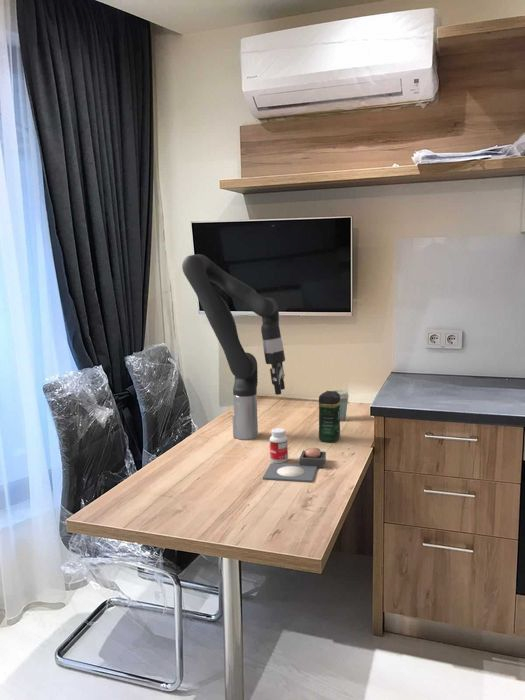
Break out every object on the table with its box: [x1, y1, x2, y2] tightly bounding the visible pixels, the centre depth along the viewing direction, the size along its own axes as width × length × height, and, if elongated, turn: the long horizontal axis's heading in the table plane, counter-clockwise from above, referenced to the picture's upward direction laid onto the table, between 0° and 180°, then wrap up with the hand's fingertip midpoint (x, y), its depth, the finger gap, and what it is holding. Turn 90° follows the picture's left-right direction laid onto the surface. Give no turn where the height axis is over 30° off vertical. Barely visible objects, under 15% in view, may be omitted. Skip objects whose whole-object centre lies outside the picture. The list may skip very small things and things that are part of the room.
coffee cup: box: [334, 389, 349, 422], centre depth 251 cm, size 8×9×12 cm
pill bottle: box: [269, 427, 289, 464], centre depth 203 cm, size 6×6×11 cm
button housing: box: [298, 450, 327, 469], centre depth 200 cm, size 8×8×3 cm
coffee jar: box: [318, 390, 341, 443], centre depth 225 cm, size 10×8×19 cm
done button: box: [304, 446, 321, 458], centre depth 200 cm, size 5×5×2 cm
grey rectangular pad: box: [262, 462, 318, 483], centre depth 192 cm, size 16×13×1 cm
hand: (280, 391), depth 224 cm, fingers open, 8 cm apart
